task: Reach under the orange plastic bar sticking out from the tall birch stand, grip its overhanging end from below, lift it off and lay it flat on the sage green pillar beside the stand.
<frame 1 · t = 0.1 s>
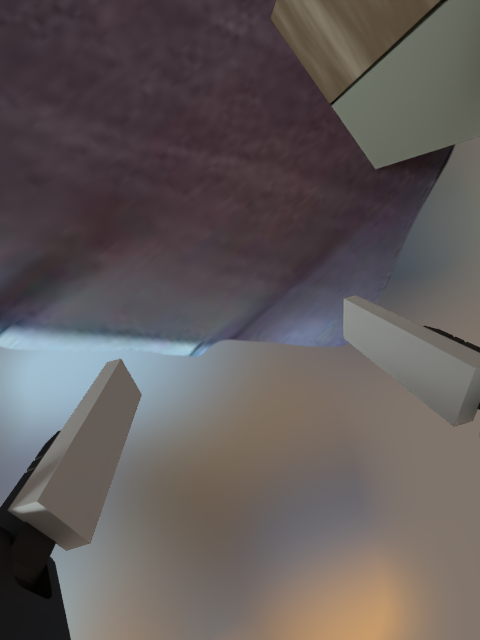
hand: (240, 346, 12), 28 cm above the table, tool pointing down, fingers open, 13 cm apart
sage green pillar: (394, 88, 31), on the table
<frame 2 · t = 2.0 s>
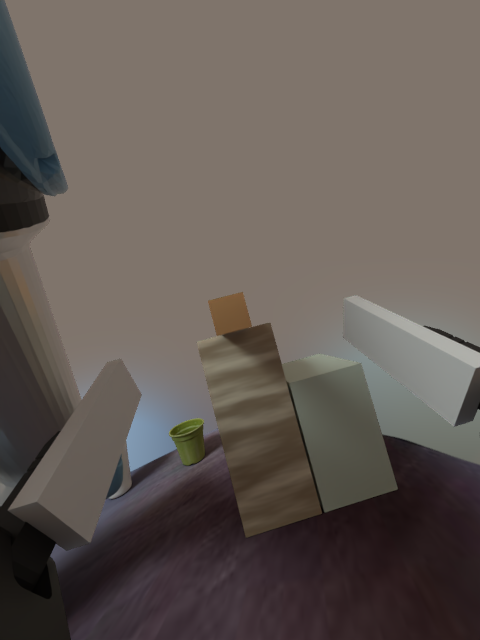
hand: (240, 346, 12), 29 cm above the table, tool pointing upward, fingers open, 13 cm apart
orange bar: (233, 332, 35), point 30 cm above the table, touching tall stand
sage green pillar: (336, 467, 40), on the table
plant pot: (194, 459, 57), on the table
tall stand: (273, 486, 40), on the table
drinking glass: (120, 492, 51), on the table
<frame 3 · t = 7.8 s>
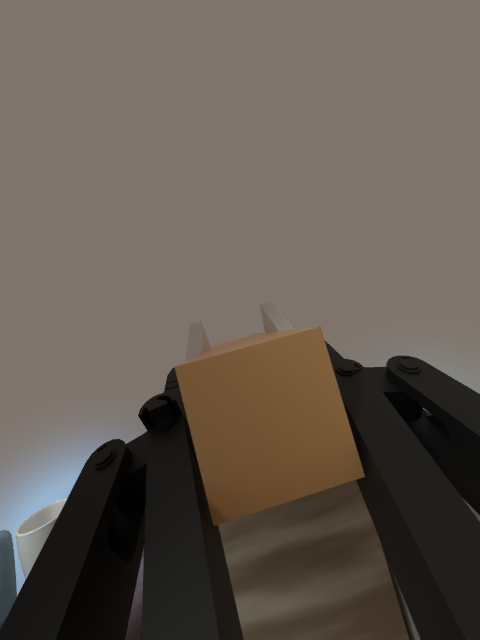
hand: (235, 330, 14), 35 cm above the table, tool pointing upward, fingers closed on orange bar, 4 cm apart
orange bar: (249, 386, 17), point 30 cm above the table, touching gripper, tall stand
sage green pillar: (434, 622, 22), on the table
drinking glass: (65, 616, 32), on the table
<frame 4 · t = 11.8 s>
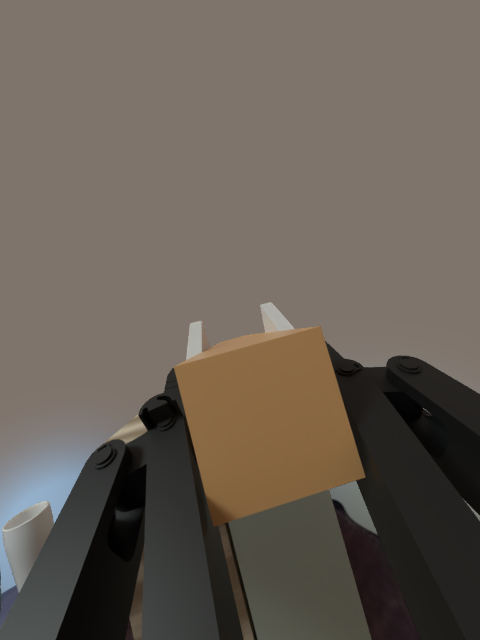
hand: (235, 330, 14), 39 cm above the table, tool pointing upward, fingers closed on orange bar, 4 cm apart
orange bar: (249, 386, 17), point 34 cm above the table, touching gripper
sage green pillar: (301, 591, 31), on the table
tall stand: (218, 620, 30), on the table
drinking glass: (42, 595, 41), on the table
when the fingers open (27 cm above the table, at t = 16.1 s): orange bar drops 2 cm, resting on sage green pillar.
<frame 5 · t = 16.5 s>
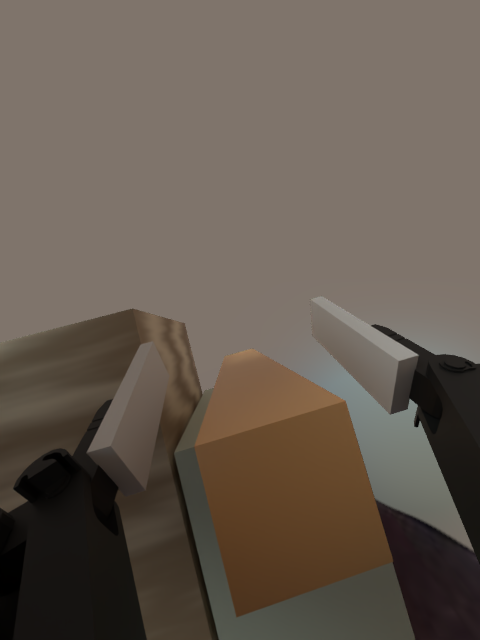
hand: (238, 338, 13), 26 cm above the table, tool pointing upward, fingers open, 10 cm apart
orange bar: (256, 411, 17), point 20 cm above the table, touching sage green pillar
sage green pillar: (304, 592, 21), on the table
tall stand: (181, 636, 20), on the table
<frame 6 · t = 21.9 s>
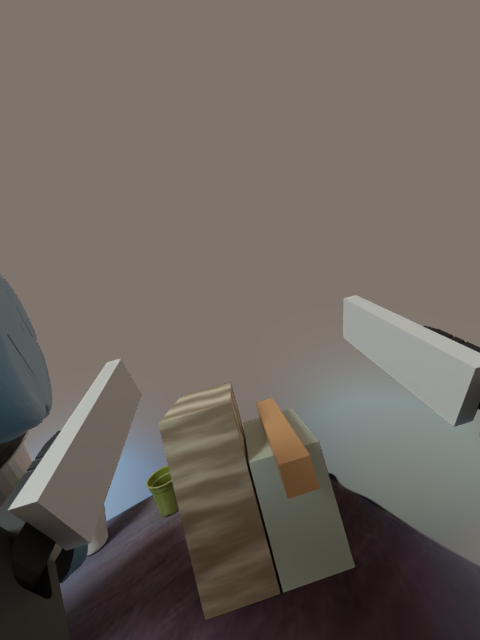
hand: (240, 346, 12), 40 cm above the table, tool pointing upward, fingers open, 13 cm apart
orange bar: (280, 443, 37), point 20 cm above the table, touching sage green pillar
sage green pillar: (302, 532, 41), on the table
plant pot: (172, 507, 57), on the table
tall stand: (240, 553, 40), on the table
drinking glass: (96, 546, 51), on the table
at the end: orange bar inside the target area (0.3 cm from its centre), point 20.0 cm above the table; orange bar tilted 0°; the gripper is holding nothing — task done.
